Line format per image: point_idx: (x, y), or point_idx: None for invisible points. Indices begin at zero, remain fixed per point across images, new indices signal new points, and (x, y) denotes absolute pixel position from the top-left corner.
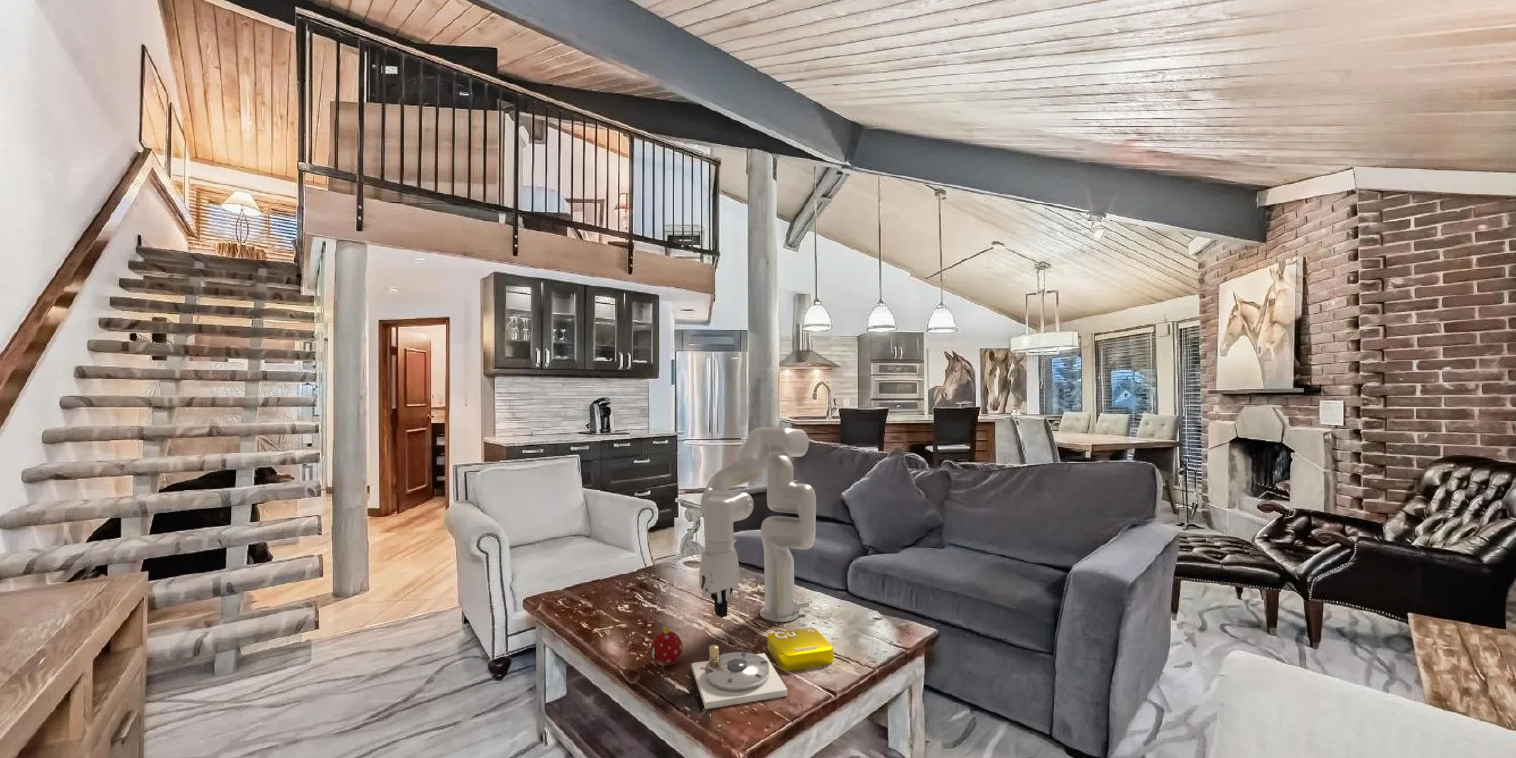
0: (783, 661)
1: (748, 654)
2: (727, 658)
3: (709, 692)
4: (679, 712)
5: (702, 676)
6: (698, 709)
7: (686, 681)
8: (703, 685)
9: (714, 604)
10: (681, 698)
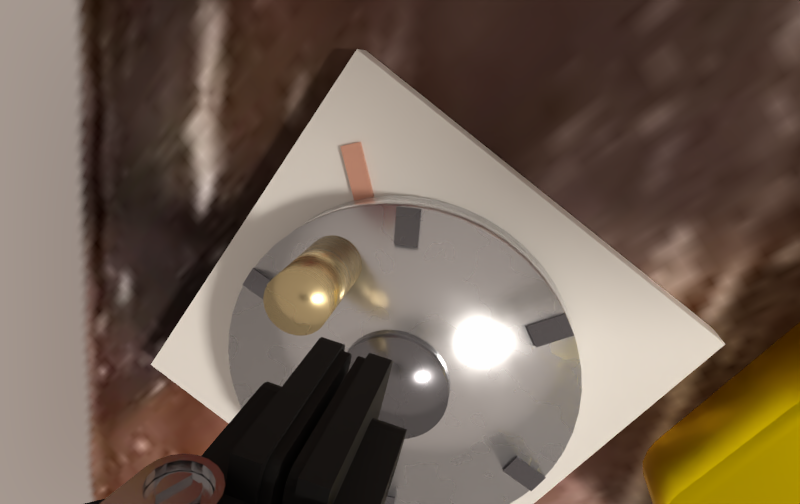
0: (652, 496)
1: (557, 357)
2: (440, 281)
3: (213, 333)
4: (86, 282)
5: (289, 213)
6: (149, 330)
7: (257, 129)
8: (234, 273)
9: (214, 441)
10: (149, 218)
